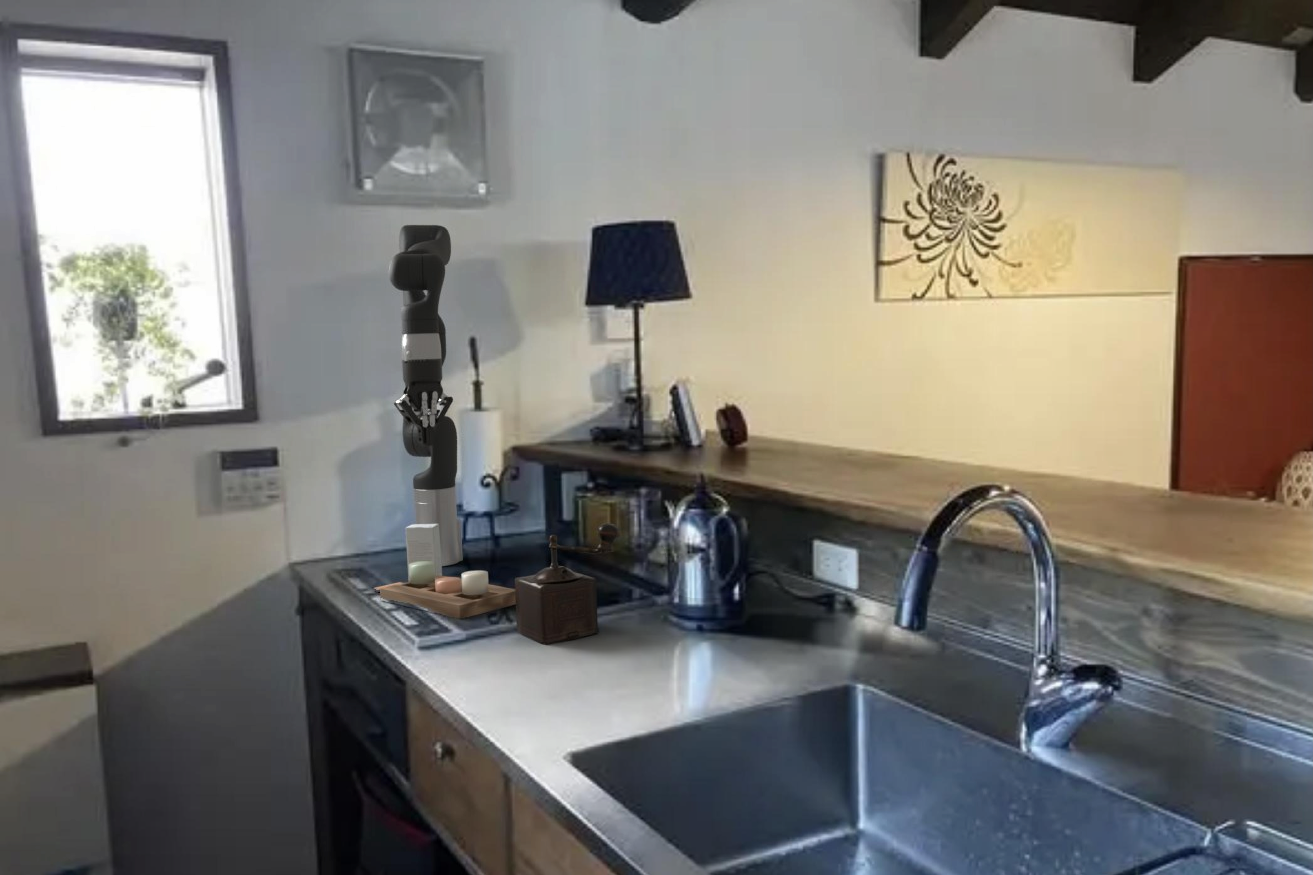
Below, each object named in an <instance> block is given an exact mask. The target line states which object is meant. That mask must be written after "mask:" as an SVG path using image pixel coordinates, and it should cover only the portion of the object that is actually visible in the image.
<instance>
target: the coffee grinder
mask: <svg viewBox="0 0 1313 875" xmlns="http://www.w3.org/2000/svg"><path fill="white" fill-rule="evenodd" d="M596 533H597V536H598V538H599V544H598V545H597V548H591V547H590V548H589V547H582V546H570V545H569V546H564V545H559V544H558V543H557V540H558V537H557V535H555V534H551V535H550V536H549V542H550V543H549V544H548V547H549V548H550V554H551V563H550V566H547V567H545V568H543V569H541V570H539V571H538V572H537V573H536V574H532V575H527V576H520V577H515V579H514V589H515V599H516V604H515V616H516V618H515V619H516V620H515V621H516V633H518V634H519V635H521V636H523V637H525V638H528V639H530V640H532V641H534V642H536V643H539V644H541V645H545V646H547V645H552V644H553V645H554V644H557V643H562V642H563V643H564V642H568V641H572V640H577V639H579V638H583V637H587V636H591V635H595V634H598V633H600V630H599V624H598V621H599V620H598V601H597V599H598V597H597V596H598V595H597V578H595V577H591V576H589V575H585V574H582V573H578V572H574V571H573V570H572V569H570V568H569V567H566V566H562V565H559V563H558V554H557V553H558V552H557V551H558V550H559V551H561V552H571V553H574V552H575V553H585V554H591V555H592V554H593V555H597V554H603V555H605V554H607V553H609V552H613V553H614V551H615V550H614V545H613V544H614V543H615V542H616V541H617V540H618V539H619V538H620V536H621V530H620V528H619V527H618V526H616V524H613V523H606V522H604V523H602V524H600V525H598V527H597V529H596Z"/></svg>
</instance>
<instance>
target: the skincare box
mask: <svg viewBox="0 0 1313 875" xmlns="http://www.w3.org/2000/svg"><path fill="white" fill-rule="evenodd" d="M404 529H405V543H406V558H407V560H406V561H407V575H408V578H407V579H408V582H410V575H409V564H410V563H414V562H420V561H431V562H434V567H435V576H437V575H442V576H443V569H442V568H443V566H442V565H441V549H440V533H439V524H415V523H413V524H412V523H411V524H410V525H408V526H406V527H404Z"/></svg>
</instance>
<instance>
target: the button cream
mask: <svg viewBox="0 0 1313 875" xmlns="http://www.w3.org/2000/svg"><path fill="white" fill-rule="evenodd" d="M460 577H461V579H462V593H463V594H465V595H480V594H485V593H487V592H489V586H488V584H489V572H488V571H487V570H468V571H464V572H462V573H461V576H460Z"/></svg>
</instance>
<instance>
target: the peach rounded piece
mask: <svg viewBox="0 0 1313 875" xmlns="http://www.w3.org/2000/svg"><path fill="white" fill-rule="evenodd" d="M461 579H462V577H458V576H457V577H456V576H447V577H444V578H439V579H436V580H435V589H436V593H441V594H449V593H454V592H458V591H461Z"/></svg>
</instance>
